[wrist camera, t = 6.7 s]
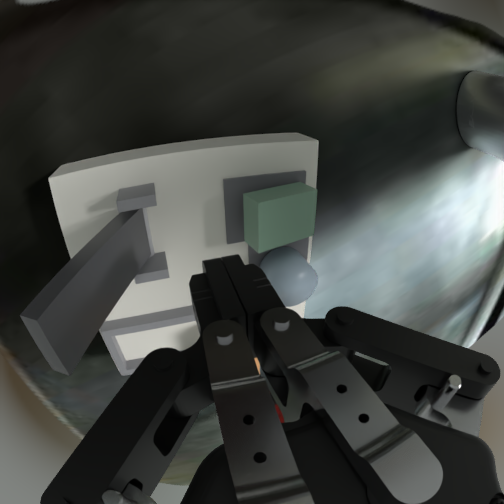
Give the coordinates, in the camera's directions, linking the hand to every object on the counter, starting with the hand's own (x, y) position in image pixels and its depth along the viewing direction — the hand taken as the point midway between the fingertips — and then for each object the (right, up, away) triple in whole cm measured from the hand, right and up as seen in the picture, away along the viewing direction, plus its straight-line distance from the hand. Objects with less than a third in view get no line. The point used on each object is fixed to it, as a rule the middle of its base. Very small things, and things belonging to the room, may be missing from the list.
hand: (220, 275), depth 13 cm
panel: (-3, +1, +10) cm, 10 cm away
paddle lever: (-5, +2, +4) cm, 7 cm away
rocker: (+2, +4, +6) cm, 8 cm away
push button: (+3, 0, +9) cm, 10 cm away
